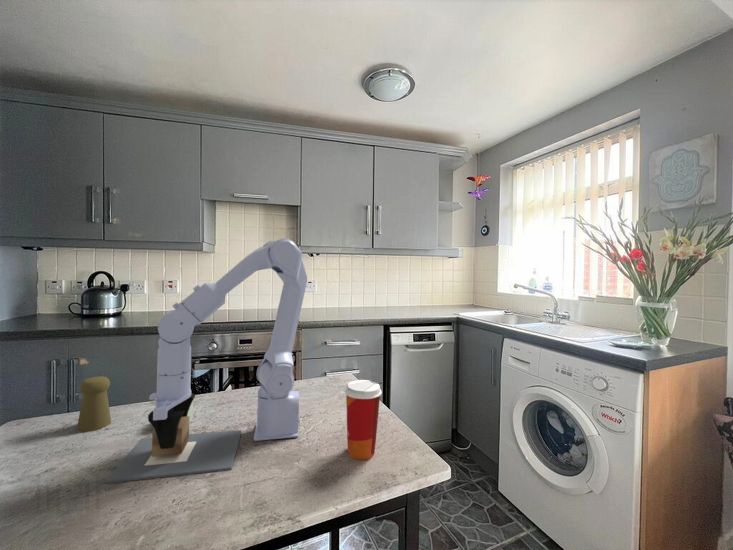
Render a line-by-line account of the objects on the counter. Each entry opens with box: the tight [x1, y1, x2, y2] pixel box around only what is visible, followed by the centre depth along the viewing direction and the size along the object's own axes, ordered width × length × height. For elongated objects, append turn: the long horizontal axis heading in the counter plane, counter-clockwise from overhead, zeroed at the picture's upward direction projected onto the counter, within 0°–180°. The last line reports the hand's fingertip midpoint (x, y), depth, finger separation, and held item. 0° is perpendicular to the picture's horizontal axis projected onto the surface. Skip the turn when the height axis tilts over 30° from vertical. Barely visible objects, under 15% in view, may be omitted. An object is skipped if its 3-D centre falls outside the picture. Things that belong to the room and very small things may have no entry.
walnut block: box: [151, 416, 190, 457], centre depth 63 cm, size 5×5×5 cm
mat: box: [104, 429, 243, 484], centre depth 63 cm, size 20×14×1 cm
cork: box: [76, 375, 112, 433], centre depth 73 cm, size 6×6×11 cm
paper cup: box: [344, 379, 383, 461], centre depth 66 cm, size 8×8×14 cm
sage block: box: [187, 398, 195, 424], centre depth 76 cm, size 5×5×5 cm
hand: (172, 439), depth 63 cm, fingers closed on walnut block, 5 cm apart
